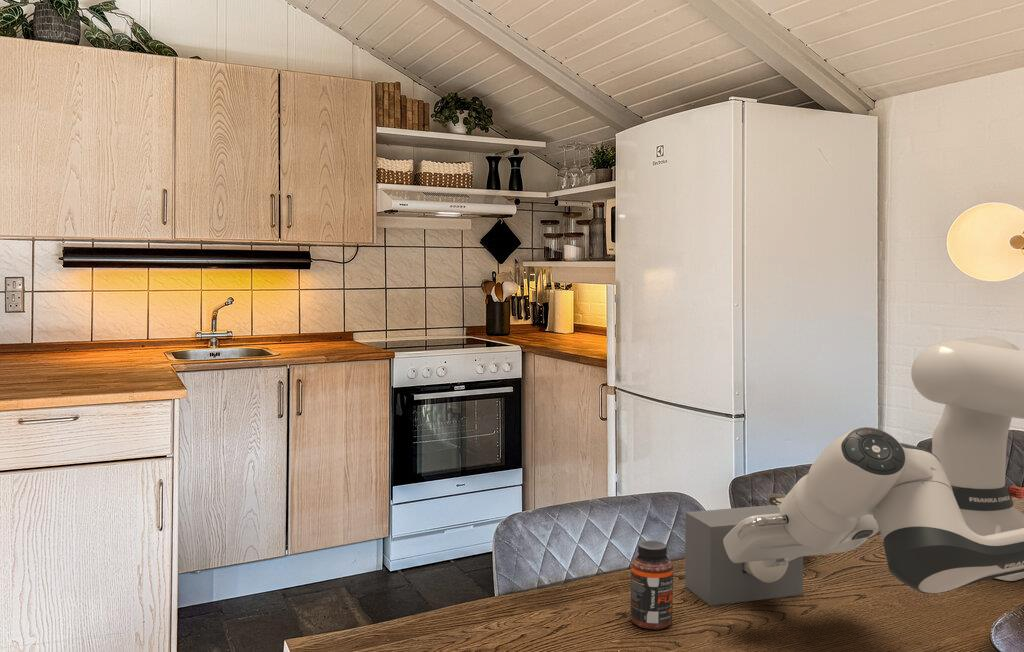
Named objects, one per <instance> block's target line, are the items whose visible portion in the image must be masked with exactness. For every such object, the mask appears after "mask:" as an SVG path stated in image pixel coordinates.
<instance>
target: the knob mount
mask: <svg viewBox="0 0 1024 652" xmlns="http://www.w3.org/2000/svg"><path fill="white" fill-rule="evenodd" d="M777 513H780V507H777V506H775V505H759V506H758V505H757V506H756V505H755V506H744V507H734V508H733V507H731V508H719V509H710V510H698V511H697V510H696V511H695V510H694V511H686V512H685V535H684V537H685V544H684V545H685V546H684V547H685V549H684V550H685V551H684V552H685V555H684V556H685V557H684V559H685V562H684V564H685V565H684V587H685V588H687V589H688V590H690V592H692V594H694V595H696V596H697V597H698V598H700V599H701V600H702V601H703V602H705V603H706V604H707V605H708V606H712V607H713V606H719V605H728V604H737V603H745V602H751V601H752V602H753V601H754V602H755V601H761V600H770V599H778V598H787V597H796V596H803V594H804V593H803V592H804V556H800V557H798V558H796V559H793V560H791V561H789V562H788V567H787V570H786V572H785V574H784V575H783V576H782V577H781V578H780V579H779V580H777V581H775V582H771V583H767V582H763V581H761V580H759V579H758V578H756V577H755V576H753V575H752V574H749V573H748V572H746V571H745V570H743V563H733V562H732V561H731V560H730V558H729V557H728V555H727V552H726V550H725V547H724V544H723V539H724V537H725V536H726V535H727V534H728V533H729V532H730V531H731V530H732V529H733V528H734V527H735V526H736V525H737V524H738V523H739V522H741V521H742V520H744V519H746V518H748V517H751V516H756V515H766V514H777Z"/></svg>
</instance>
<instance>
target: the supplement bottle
mask: <svg viewBox="0 0 1024 652" xmlns="http://www.w3.org/2000/svg"><path fill="white" fill-rule="evenodd" d="M667 549H668V547H667V544H666V543H664V542H663V541H658V540H643V541H642V540H641V541H640V542H639V543H638V545H637V553H638V554H637V555H636V556H634V558H633V559H632V560H631V562H630V563H631V565H630V568H631V569H630V620H631V622H632V623H633V624H635V625H636V626H637V627H640V628H643V629H647V630H653V631H654V630H663V629H666V628H668V627H670V626H671V624H672V622H673V613H674V612H673V611H674V610H673V604H674V603H673V600H674V599H673V598H674V597H673V596H674V594H673V593H674V591H673V590H674V564H673V562H672V561H671V559H669V558H668V556H667V554H668V552H667V551H668V550H667Z"/></svg>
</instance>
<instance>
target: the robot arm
mask: <svg viewBox="0 0 1024 652" xmlns="http://www.w3.org/2000/svg"><path fill="white" fill-rule="evenodd" d="M910 372H911V374H910V375H911V381H912V383H913V386H914V387H915V389H916V391H917V392H918V393H919V394H920V395H921V396H923V398H925V399H927V400H929V401H931V402H933V403H937V404H942V405H944V407H943V408H944V409H943V411H942V414H941V418H940V420H939V422H938V423H937V425H936V427H935V429H934V430H933V434H932V436H931V437H932V440H931V443H932V444H931V452H930V451H928V450H927V449H924V448H922V447H919V446H916V445H911V444H907V443H903V442H899V441H898V440H897V439H896V438H895V437H894V436H893V435H892V434H890V433H888V432H886V431H885V430H882V429H879V428H876V427H869V426H867V427H866V426H862V427H861V426H860V427H857V428H853V429H852V430H849V431H846V432H845V433H844V434H842V435H841V436H839V437H838V438H836V439H835V440H833V442H831V443H829V445H828V446H827V447H826V448H825V449H824V450H823V451H822V452H821V453H820V455H818V457H817V458H816V459H815V460H814V461H813V463H812V464H811V466H810V468H809V470H808V473H807V474H805V475H804V476H802V477H801V478H799V479H798V480H797V482H796V483H795V485H793V487H792V488H791V489H790V491H789V492H788V493H787V494H785V495H786V496H785V498H784V499H783V500H782V502H781V505H780V513H777V514H766V515H756V516H751V517H748V518H746V519H744V520H742V521H741V522H739V523H738V524H737V525H736V526H735V527H734V528H733V529H732V530H731V531H730V532H729V533H728V534H727V535H726V536H725V537H724V539H723V544H724V547H725V550H726V552H727V555H728V557H729V558H730V560H731V561H732V562H733V563H744V562H753V561H762V560H763V561H764V563H765V565H766V567H775V566H784V565H786V564H787V563H788V562H789V561H791V560H793V559H796V558H798V557H800V556H803V557H808V556H818V555H826V554H835V553H836V554H837V553H838V554H839V553H846V552H850V551H852V550H855V549H857V548H859V547H860V546H861V545H862V544H863V543H864V542H866V541H867V540H868V539H869V538H872V537H873V536H875V535H876V534H877V533H878V532H880V535H881V538H882V542H883V543H882V544H883V549H884V553H885V557H886V563H887V566H888V567H887V568H888V571H889V573H890V574H891V575H892V576H893V577H895V578H896V579H897V580H899V581H900V582H902V583H903V584H904V585H906V586H907V587H909V588H910V589H913V590H915V591H916V592H919V593H921V594H927V595H928V594H929V595H932V594H933V595H935V594H940V593H941V594H942V593H946V592H950V591H953V590H954V591H955V590H958V589H960V588H964V587H966V586H969V585H972V584H973V585H974V584H976V583H979V582H981V581H986V580H990V579H991V580H992V579H996V580H997V579H998V580H1001V581H1006V582H1007V581H1008V582H1013V581H1018V580H1021V579H1024V514H1023V512H1021V511H1020V510H1018V509H1017V508H1016V507H1015V506H1014V501H1013V497H1014V498H1016V499H1018V500H1024V487H1022V486H1021V487H1020V486H1017V485H1015V484H1014V485H1010V486H1008V485H1007V484H1006V467H1007V466H1006V465H1007V447H1008V446H1007V443H1008V436H1009V431H1010V427H1011V423H1012V418H1015V419H1021V420H1024V350H1021V349H1020V348H1019V347H1018V346H1017V345H1015V344H1013V343H1011V342H1008V341H1006V340H1003V339H1001V338H997V337H994V336H980V337H979V336H977V337H967V338H957V339H955V338H953V339H948V340H947V339H946V340H942V341H938V342H937V343H934V344H932V345H929V346H928V347H927V348H925V349H923V350H922V351H921V352H919V354H917V355H916V357H915V359H914V360H913V362H912V365H911V371H910Z"/></svg>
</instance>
